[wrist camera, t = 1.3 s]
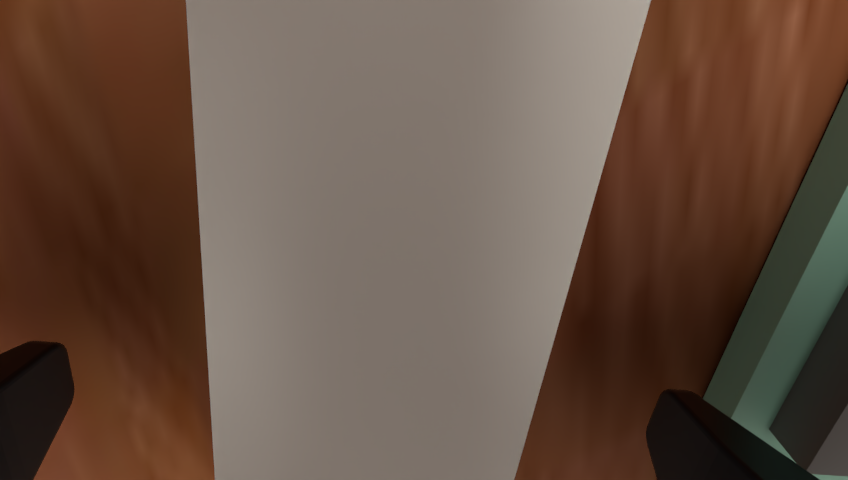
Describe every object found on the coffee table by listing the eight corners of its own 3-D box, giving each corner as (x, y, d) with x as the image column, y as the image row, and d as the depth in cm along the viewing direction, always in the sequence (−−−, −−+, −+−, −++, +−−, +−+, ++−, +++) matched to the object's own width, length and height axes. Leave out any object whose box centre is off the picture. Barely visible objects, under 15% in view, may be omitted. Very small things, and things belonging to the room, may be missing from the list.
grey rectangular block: (548, -77, 8) (686, -128, 4) (434, 497, 14) (448, 712, 10) (289, -117, 8) (173, -213, 4) (280, 488, 14) (228, 707, 10)
